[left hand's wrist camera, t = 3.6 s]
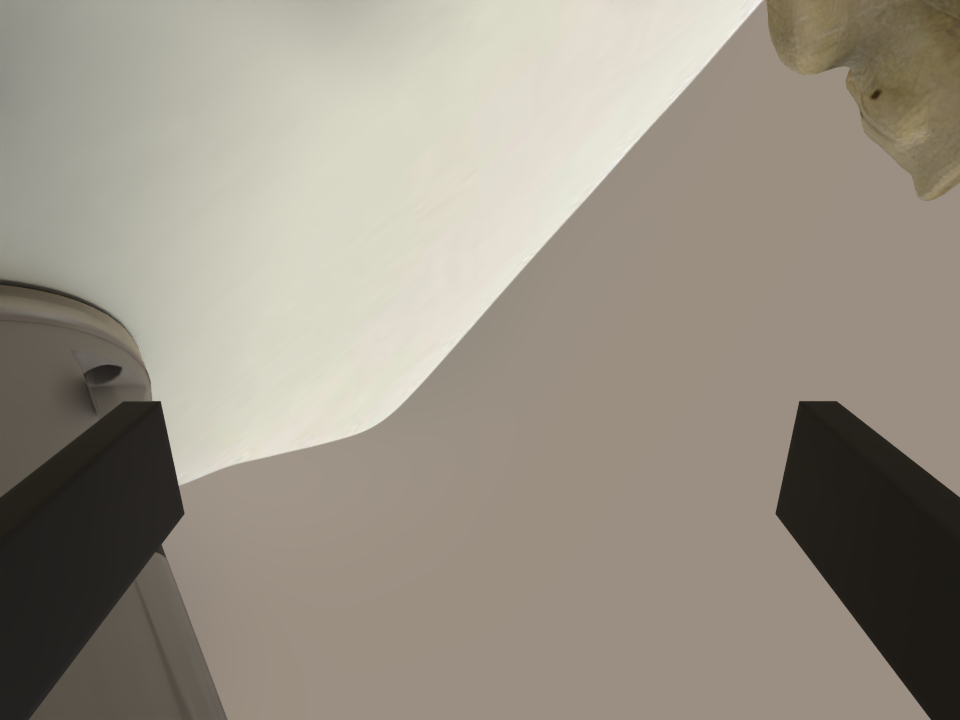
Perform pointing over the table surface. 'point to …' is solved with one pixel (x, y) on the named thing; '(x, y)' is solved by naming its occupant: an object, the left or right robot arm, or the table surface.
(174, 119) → the table surface
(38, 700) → the left robot arm
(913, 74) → the sculpture
